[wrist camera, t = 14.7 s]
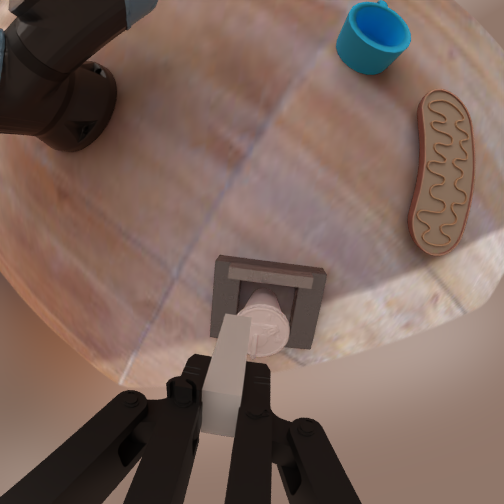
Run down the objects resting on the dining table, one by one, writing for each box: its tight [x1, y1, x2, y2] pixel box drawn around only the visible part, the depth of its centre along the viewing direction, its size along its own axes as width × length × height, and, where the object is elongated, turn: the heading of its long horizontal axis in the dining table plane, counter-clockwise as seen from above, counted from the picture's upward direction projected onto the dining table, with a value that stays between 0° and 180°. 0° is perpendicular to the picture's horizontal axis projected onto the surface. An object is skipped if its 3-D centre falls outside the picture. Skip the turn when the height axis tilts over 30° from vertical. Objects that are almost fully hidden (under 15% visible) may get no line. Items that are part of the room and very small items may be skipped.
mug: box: [336, 0, 411, 75], centre depth 26 cm, size 12×8×8 cm
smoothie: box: [237, 288, 290, 359], centre depth 33 cm, size 6×6×14 cm
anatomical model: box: [408, 89, 475, 256], centre depth 31 cm, size 23×10×5 cm, turn 173°
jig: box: [210, 255, 327, 349], centre depth 37 cm, size 14×11×5 cm
